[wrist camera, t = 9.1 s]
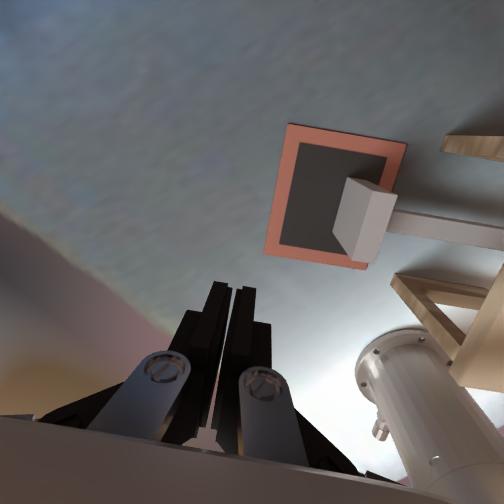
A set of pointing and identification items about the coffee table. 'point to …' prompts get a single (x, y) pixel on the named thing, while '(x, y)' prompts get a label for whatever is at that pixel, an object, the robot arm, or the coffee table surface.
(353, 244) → the slider
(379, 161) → the frame
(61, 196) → the coffee table surface
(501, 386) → the tunnel
